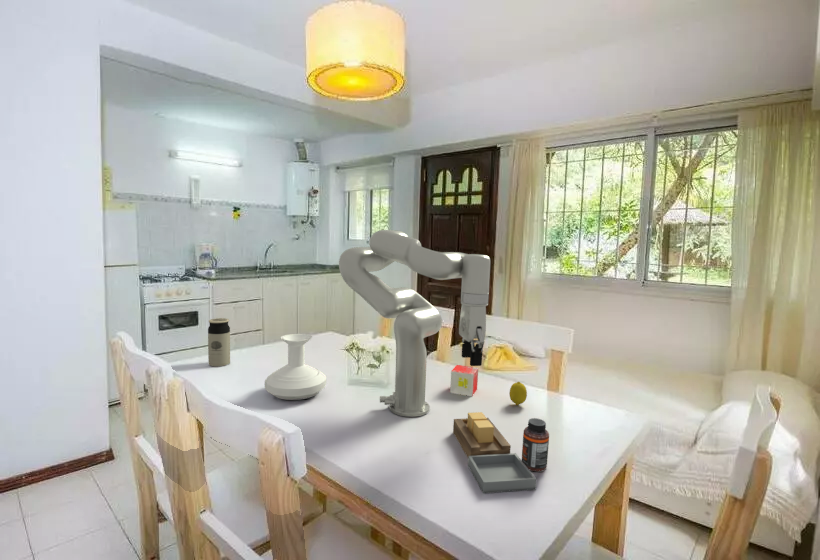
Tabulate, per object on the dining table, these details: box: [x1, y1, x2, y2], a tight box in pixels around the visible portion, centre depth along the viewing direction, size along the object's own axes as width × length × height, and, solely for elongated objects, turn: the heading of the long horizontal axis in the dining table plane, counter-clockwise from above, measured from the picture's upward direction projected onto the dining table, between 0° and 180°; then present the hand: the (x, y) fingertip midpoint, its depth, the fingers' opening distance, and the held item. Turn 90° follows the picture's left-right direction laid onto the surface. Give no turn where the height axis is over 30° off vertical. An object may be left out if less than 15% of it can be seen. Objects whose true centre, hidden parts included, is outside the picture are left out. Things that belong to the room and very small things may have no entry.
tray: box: [467, 452, 537, 494], centre depth 98 cm, size 12×11×2 cm
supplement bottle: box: [521, 417, 550, 473], centre depth 103 cm, size 6×6×11 cm
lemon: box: [509, 381, 528, 406], centre depth 140 cm, size 6×6×8 cm
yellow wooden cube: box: [473, 420, 494, 443], centre depth 110 cm, size 4×4×4 cm
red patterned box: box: [449, 364, 479, 397], centre depth 151 cm, size 8×8×8 cm
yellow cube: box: [467, 411, 488, 434], centre depth 115 cm, size 4×4×4 cm
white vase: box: [264, 333, 327, 401], centre depth 143 cm, size 20×20×19 cm
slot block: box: [452, 417, 512, 459], centre depth 112 cm, size 10×16×4 cm, turn 10°
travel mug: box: [207, 317, 231, 368], centre depth 170 cm, size 8×8×18 cm
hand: (471, 360), depth 120 cm, fingers open, 7 cm apart
